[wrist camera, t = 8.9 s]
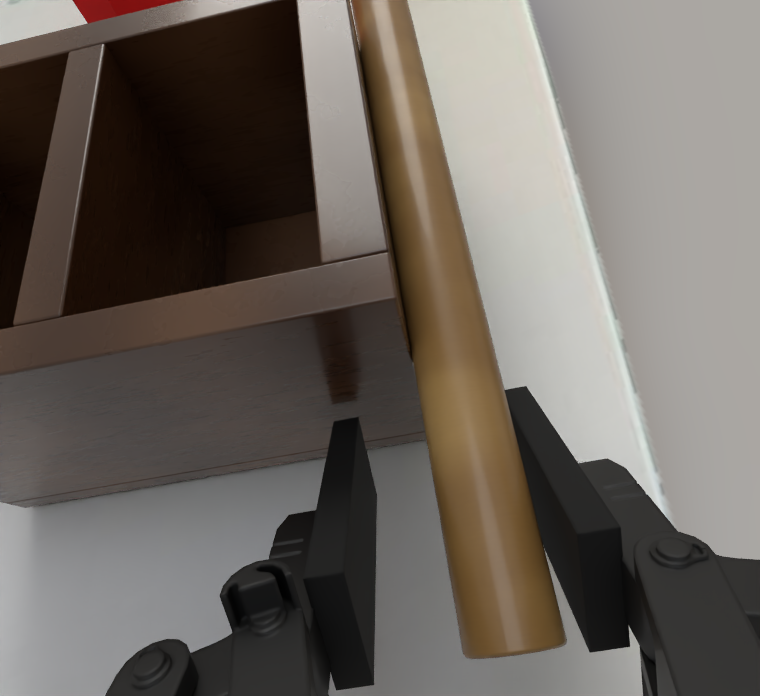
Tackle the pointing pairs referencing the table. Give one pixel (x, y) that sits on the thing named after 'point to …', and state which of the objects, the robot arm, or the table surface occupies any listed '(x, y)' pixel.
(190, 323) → the divided box with dowel
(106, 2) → the red rounded slab
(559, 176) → the table surface
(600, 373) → the table surface
